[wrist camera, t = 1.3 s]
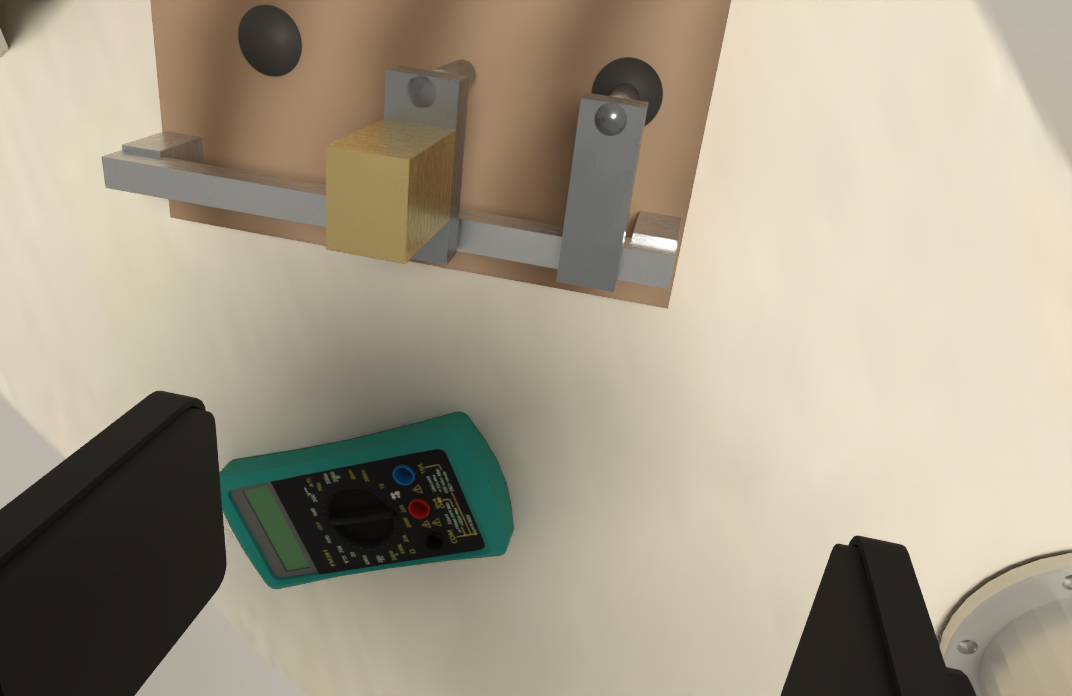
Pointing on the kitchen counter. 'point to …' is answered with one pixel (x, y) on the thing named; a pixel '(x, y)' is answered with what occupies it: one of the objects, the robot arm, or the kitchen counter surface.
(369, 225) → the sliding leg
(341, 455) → the digital multimeter
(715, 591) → the kitchen counter surface
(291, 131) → the bolt plate
